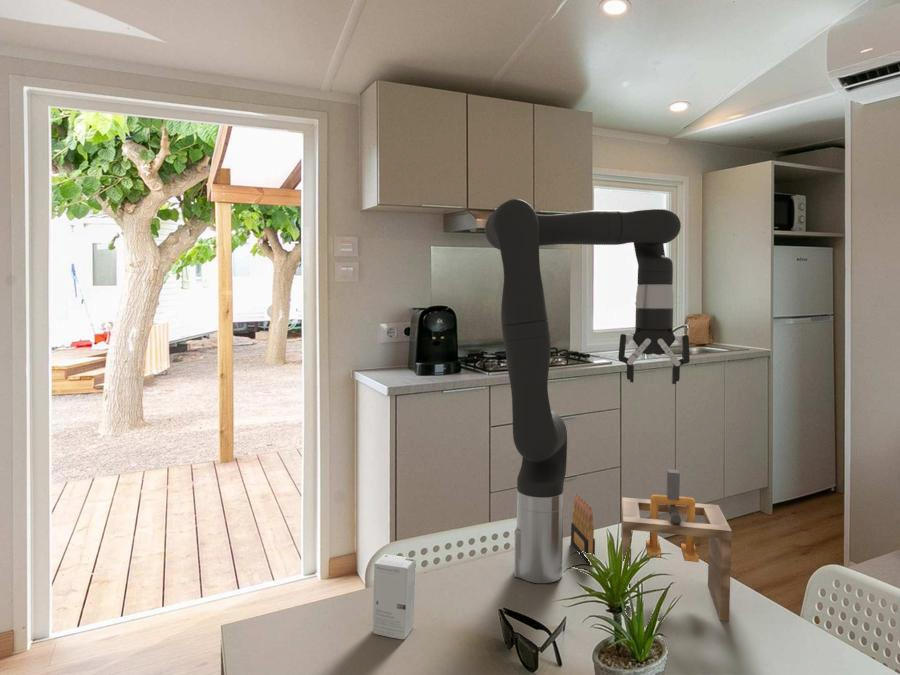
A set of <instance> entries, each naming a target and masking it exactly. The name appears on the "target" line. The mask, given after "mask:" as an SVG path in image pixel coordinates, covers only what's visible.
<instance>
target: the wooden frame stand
mask: <svg viewBox="0 0 900 675" xmlns="http://www.w3.org/2000/svg"><path fill="white" fill-rule="evenodd" d="M665 496H667V494H666V495H665ZM650 507H651V500H650V498H649V499H648V498H637V497H635V498H633V497H625V496H623V497H621V532H620V533H621V534H620V535H621V536H620V537H621V538H622V540H623V561H624V559H625V556H626V552H627V549H628V545H629V541H630V537H633V536H632V535H633V534H632V533H633V532H632V531H638V532H647V533H648V532H649V533H650V532H657V533H659V534H667V535H669V534H670V535H678V536H686V535H689V536H694V537H699V538H700V537H701V538H708V565H707V566H708V567H707V587H708V590H709V592H710V595H711V598H712V602H713V604H714V607H715V610H716V613H717V616H718V619H719V621H723V622H729V621H730V603H731V602H730V599H731V598H730V597H731V573H732V572H731V570H732V567H731V566H732V543H733V542H732V540H733V538H732V537H733V533H732V532H733V531H732V528H731V527H730V525H729V523H728V521H727V519H726V517H725V515H724V513H723V511H722V509H721V508H720V505H719V504H709V503H699V502H698V503H697V502H696V504H695V516H702V517H703V518H704V520H705V523H702V522H701V523H700V522H695V523H691V522H686V521H682V520H681V516H680V514H681V515H687V506H679V505H667V504H658V513H669V517H670V518H669V519H670V520H666V519H658V520H657V519H650V518H644V517H643V518H642V517H641V515H640V514H641V513H640V511H646V512H647V511H648V512H650ZM621 538H620V539H621ZM631 540H632V538H631ZM628 566H629V567H630V566H631V567H632V548H631V549H630V557H629V565H628ZM631 585H632V584H631V583H630V584H629V588H630V589H631ZM627 609H629V610H630V609H631V606H630V607H629V606H627V608H626V610H627Z"/></svg>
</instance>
